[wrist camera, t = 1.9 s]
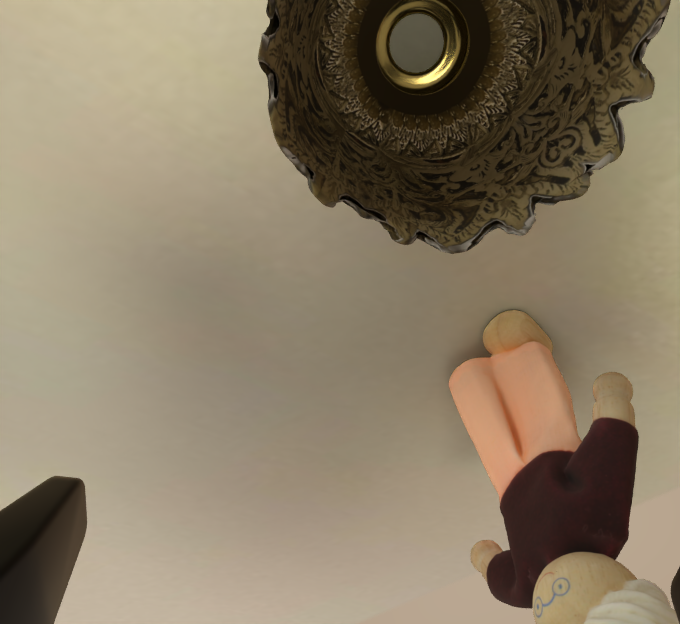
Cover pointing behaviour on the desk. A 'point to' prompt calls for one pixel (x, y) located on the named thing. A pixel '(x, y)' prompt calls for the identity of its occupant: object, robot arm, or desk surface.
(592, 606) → the grandmother figurine
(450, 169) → the cup
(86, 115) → the desk surface
